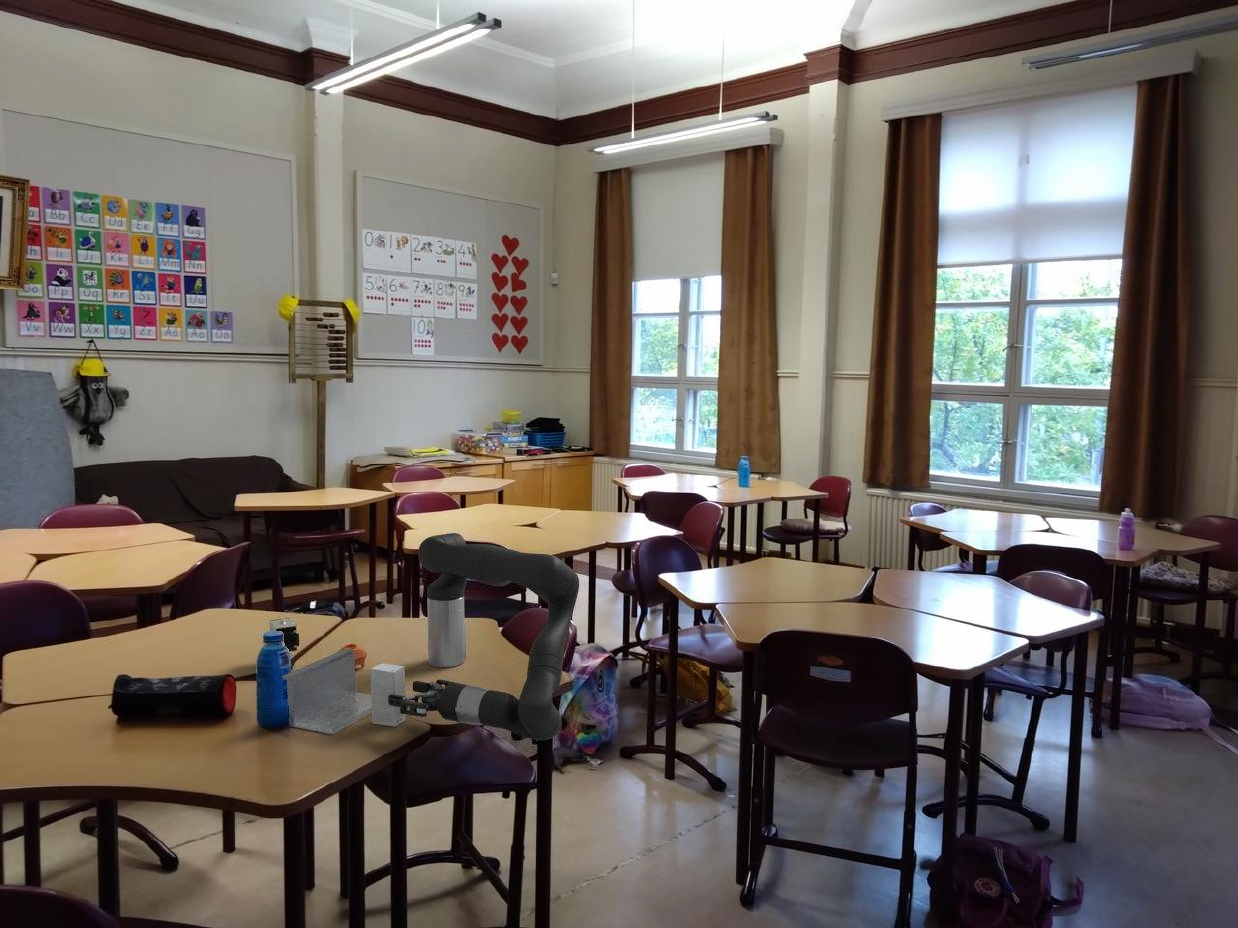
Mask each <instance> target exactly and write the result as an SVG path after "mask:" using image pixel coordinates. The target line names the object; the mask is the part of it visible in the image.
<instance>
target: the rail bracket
mask: <svg viewBox="0 0 1238 928" xmlns="http://www.w3.org/2000/svg"><path fill="white" fill-rule="evenodd" d="M338 651H339V650H338ZM338 651H337V652H333V653H332V654H330V655H328V656H325V657H323V658H321V659H318V660H317V661H313V662H311V663H309V664H307V665H305V666H302V667H300V668H298V669H296V670H294V671H290V672H289V673H286V674H284V675H282V676H281V677H282V678H283V679H282V678H281V679H282V680H286V693H287V694H286V695H288V699H287V706H288V705H289V714H290V722H289V723H290V726H289V727H292V728H298V729H302V730H307V731H312V732H317V733H323V734H327V735H334V734H336V733H338V732H339V731H341V730H343V729H345V728H347V727H348V726H350V725H352V724H354V723H356V722H357V721H359V720H362V719H363V718H365V717H366V716H368V715H370V714H371V694H368V693H361V692H357V691H356V667H355V653H353V652H352V650H350V649H343V650H341V651H339V652H338Z"/></svg>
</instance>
